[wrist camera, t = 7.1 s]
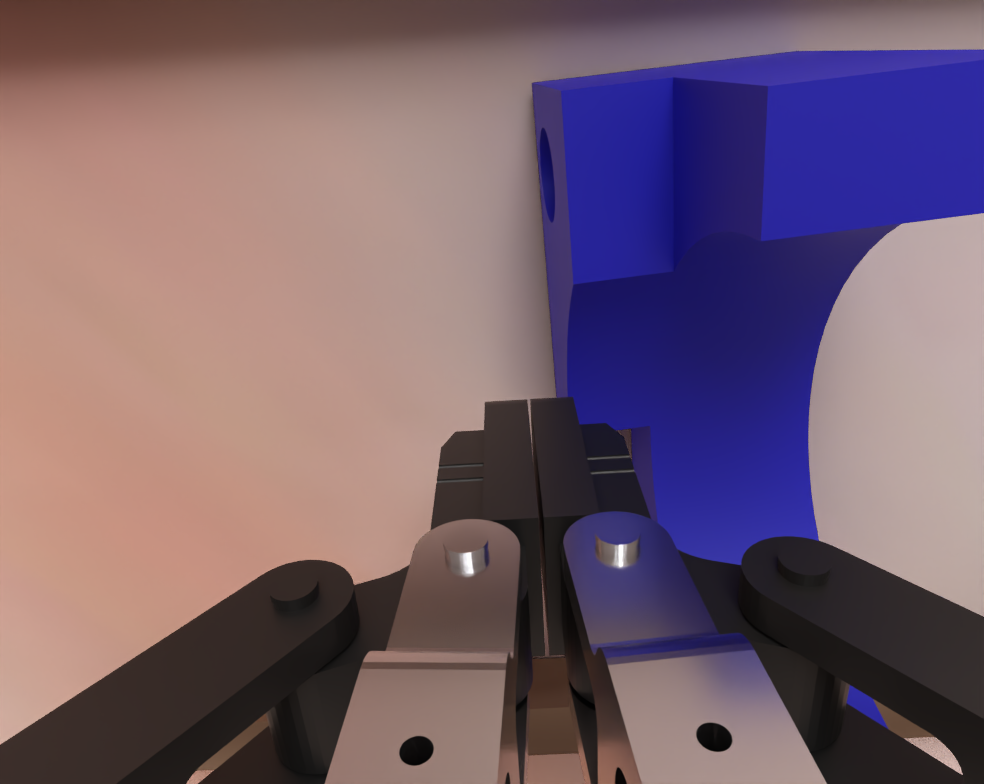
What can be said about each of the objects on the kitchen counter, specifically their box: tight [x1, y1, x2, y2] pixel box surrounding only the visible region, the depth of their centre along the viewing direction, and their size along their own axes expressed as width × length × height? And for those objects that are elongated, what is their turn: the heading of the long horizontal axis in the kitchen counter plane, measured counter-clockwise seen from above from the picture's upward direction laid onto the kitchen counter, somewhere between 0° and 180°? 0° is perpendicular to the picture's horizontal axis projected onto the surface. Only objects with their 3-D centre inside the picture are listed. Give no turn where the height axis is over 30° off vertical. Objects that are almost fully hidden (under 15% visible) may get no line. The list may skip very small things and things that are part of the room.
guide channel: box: [196, 658, 935, 771], centre depth 12 cm, size 18×26×6 cm
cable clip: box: [532, 50, 984, 729], centre depth 12 cm, size 12×4×6 cm, turn 6°
